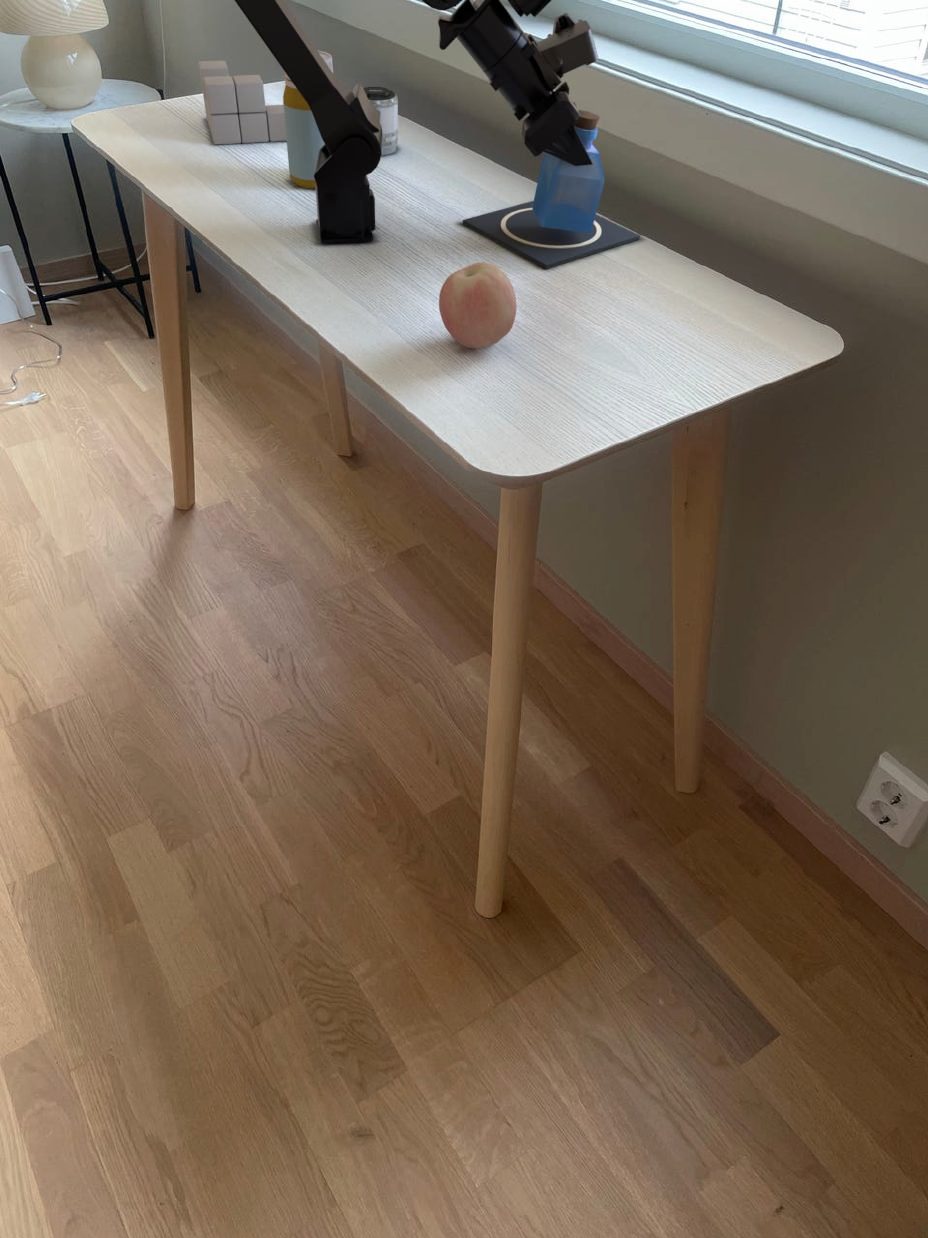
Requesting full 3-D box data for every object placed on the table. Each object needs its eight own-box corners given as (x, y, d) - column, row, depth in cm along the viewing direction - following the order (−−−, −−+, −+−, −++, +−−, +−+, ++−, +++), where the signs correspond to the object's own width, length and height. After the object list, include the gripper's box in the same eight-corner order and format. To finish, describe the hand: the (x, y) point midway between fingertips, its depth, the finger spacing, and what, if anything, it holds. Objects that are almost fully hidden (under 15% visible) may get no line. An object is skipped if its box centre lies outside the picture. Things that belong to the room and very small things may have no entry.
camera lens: (400, 156, 135) (400, 96, 129) (357, 156, 134) (355, 96, 128) (395, 141, 139) (395, 83, 134) (353, 142, 138) (351, 83, 133)
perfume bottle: (578, 213, 117) (604, 110, 109) (590, 232, 113) (618, 126, 105) (532, 207, 116) (554, 102, 108) (542, 226, 111) (567, 118, 103)
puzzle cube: (296, 140, 138) (291, 80, 132) (214, 144, 135) (206, 84, 130) (284, 115, 146) (279, 58, 140) (206, 118, 143) (198, 60, 138)
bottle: (280, 184, 125) (268, 58, 115) (306, 168, 130) (296, 45, 119) (326, 193, 123) (318, 66, 113) (350, 176, 128) (345, 53, 118)
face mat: (545, 268, 109) (546, 263, 109) (462, 223, 118) (462, 218, 118) (639, 239, 117) (640, 234, 116) (554, 198, 126) (555, 193, 125)
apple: (475, 318, 100) (479, 244, 94) (528, 344, 96) (536, 268, 91) (423, 341, 96) (423, 266, 90) (476, 369, 92) (481, 292, 86)
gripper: (570, 11, 91) (658, 137, 99) (550, -27, 104) (629, 86, 113) (485, 96, 96) (576, 209, 104) (477, 49, 109) (558, 153, 118)
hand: (587, 161), depth 110 cm, fingers closed on perfume bottle, 4 cm apart
